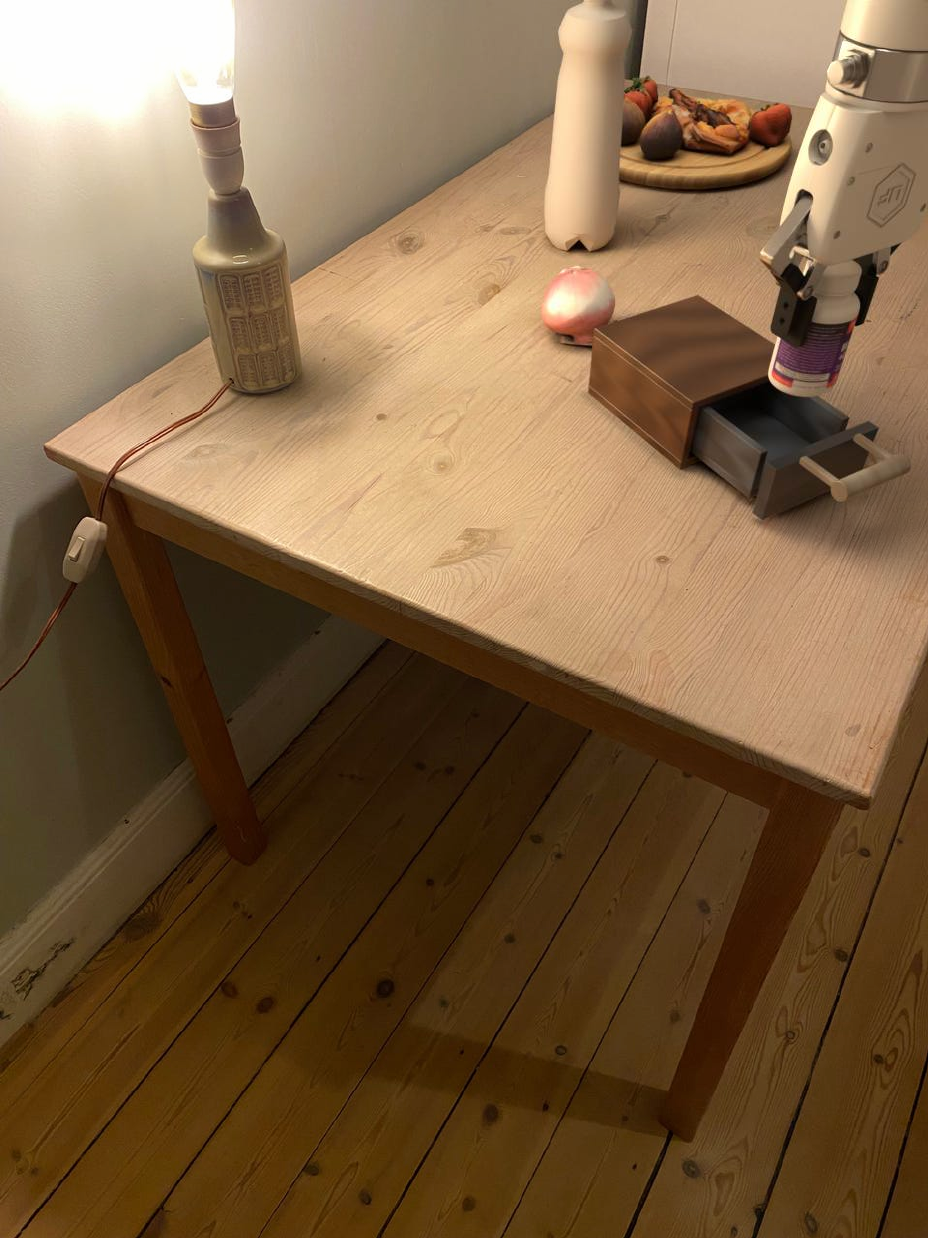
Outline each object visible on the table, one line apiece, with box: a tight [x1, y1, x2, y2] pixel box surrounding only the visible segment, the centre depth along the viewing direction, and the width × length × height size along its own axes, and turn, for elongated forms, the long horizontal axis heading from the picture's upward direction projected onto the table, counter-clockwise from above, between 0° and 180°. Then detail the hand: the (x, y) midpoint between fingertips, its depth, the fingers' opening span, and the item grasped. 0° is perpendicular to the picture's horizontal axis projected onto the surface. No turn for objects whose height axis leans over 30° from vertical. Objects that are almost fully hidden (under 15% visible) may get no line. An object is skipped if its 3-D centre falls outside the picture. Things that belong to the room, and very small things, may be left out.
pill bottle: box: [768, 259, 862, 397], centre depth 71 cm, size 5×5×10 cm
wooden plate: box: [619, 75, 793, 190], centre depth 132 cm, size 32×32×8 cm
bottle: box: [543, 0, 633, 252], centre depth 104 cm, size 9×9×30 cm
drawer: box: [690, 381, 912, 521], centre depth 79 cm, size 19×11×6 cm, turn 30°
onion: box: [540, 265, 618, 347], centre depth 97 cm, size 8×8×7 cm
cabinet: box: [587, 294, 775, 470], centre depth 87 cm, size 15×13×7 cm
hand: (816, 326), depth 71 cm, fingers closed on pill bottle, 5 cm apart
